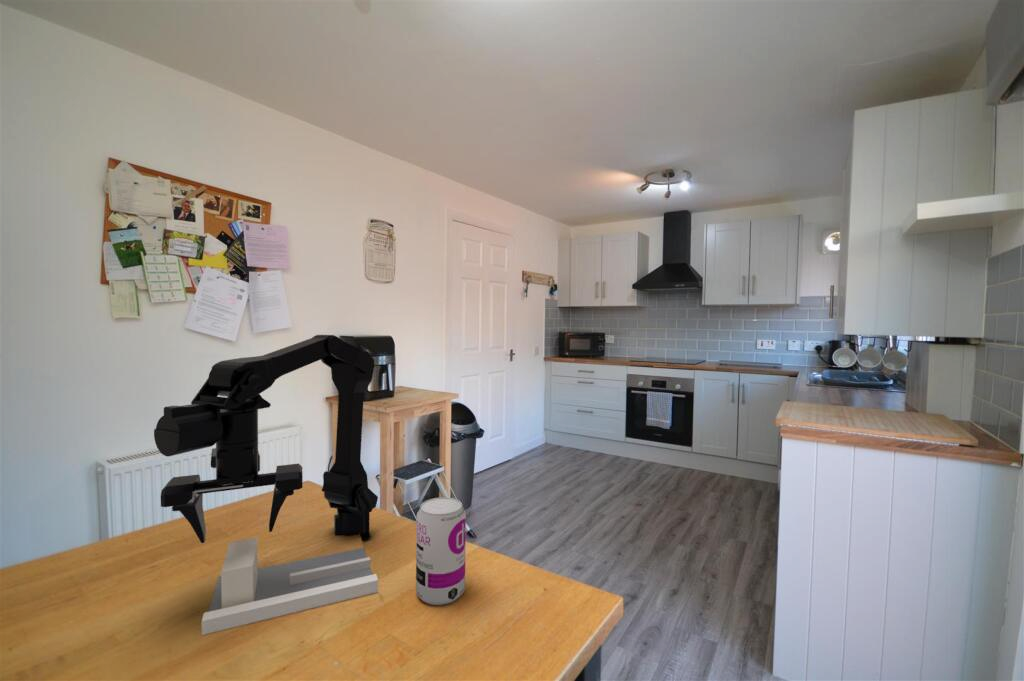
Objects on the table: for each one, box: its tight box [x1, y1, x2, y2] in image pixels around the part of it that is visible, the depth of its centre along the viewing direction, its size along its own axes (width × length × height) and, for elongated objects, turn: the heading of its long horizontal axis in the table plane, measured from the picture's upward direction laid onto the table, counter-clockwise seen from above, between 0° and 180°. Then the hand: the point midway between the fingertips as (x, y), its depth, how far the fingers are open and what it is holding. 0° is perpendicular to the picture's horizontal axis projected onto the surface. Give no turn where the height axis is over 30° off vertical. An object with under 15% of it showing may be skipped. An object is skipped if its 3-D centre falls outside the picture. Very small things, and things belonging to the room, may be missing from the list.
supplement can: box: [415, 496, 467, 606], centre depth 75 cm, size 8×8×15 cm
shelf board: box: [201, 547, 379, 636], centre depth 75 cm, size 24×16×4 cm, turn 116°
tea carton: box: [220, 536, 259, 609], centre depth 71 cm, size 4×10×7 cm, turn 26°
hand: (238, 536), depth 71 cm, fingers open, 9 cm apart
